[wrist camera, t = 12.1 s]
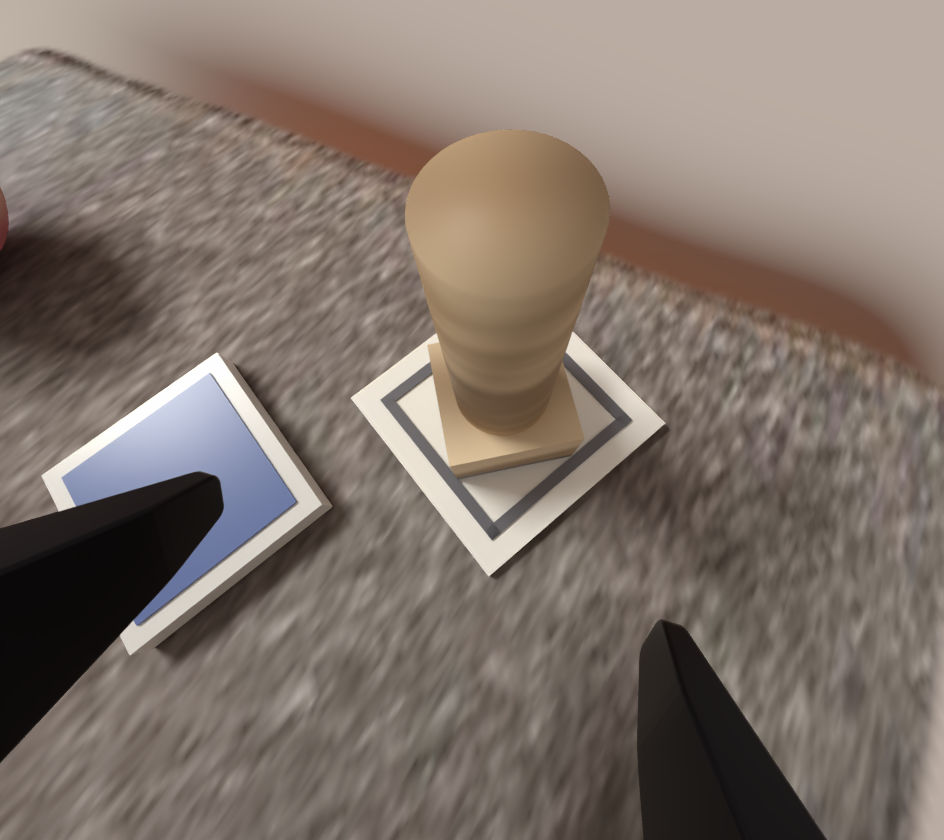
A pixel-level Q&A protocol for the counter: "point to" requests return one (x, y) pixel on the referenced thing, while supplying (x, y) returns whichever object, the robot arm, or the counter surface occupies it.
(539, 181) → the stamp
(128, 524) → the robot arm
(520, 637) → the counter surface
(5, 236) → the decorative fruit
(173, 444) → the ink pad
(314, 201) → the counter surface
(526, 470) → the card
